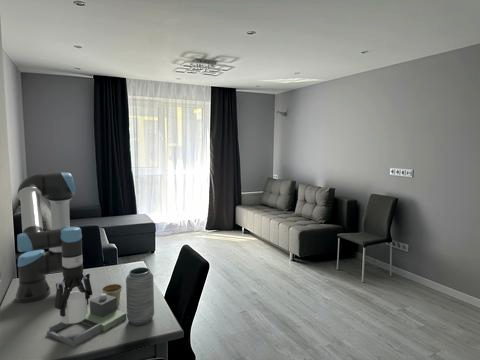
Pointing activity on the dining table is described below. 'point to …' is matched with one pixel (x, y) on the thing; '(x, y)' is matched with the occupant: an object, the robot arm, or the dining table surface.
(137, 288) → the vase
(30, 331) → the dining table surface
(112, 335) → the dining table surface
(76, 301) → the cup
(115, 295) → the flower pot
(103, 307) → the square frame with panel
